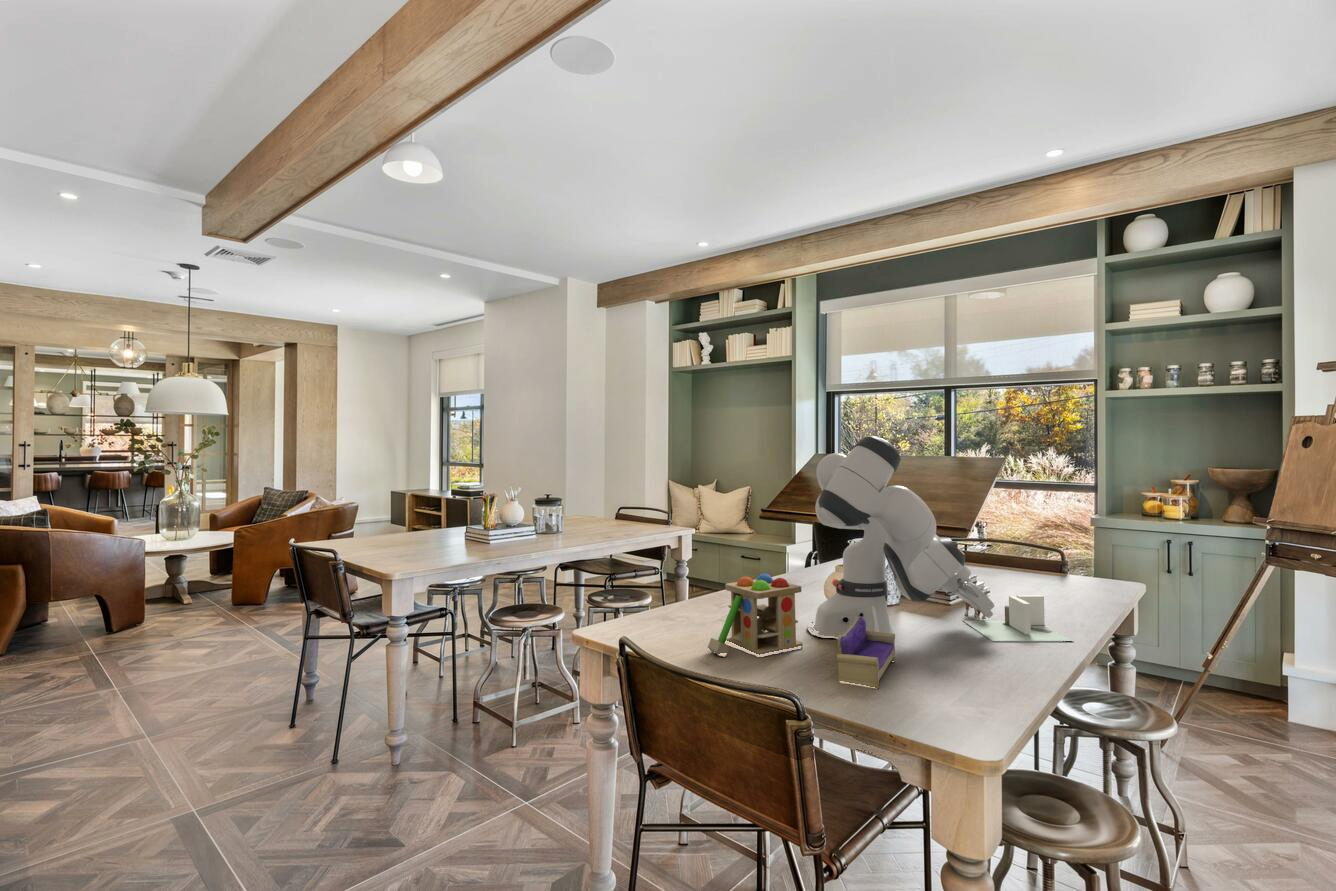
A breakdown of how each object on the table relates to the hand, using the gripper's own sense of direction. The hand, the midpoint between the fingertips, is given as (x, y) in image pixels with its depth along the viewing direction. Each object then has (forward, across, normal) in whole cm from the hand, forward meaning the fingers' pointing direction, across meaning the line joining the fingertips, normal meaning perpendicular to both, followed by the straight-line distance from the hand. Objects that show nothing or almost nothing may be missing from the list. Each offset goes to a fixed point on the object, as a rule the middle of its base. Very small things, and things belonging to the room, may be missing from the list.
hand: (989, 615), depth 177 cm
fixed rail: (+11, +8, -6) cm, 15 cm away
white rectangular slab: (+9, +1, -4) cm, 9 cm away
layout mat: (+8, +2, -2) cm, 9 cm away
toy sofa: (-21, -33, +32) cm, 51 cm away
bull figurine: (+5, +16, +2) cm, 17 cm away
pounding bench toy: (-38, -17, +52) cm, 67 cm away
